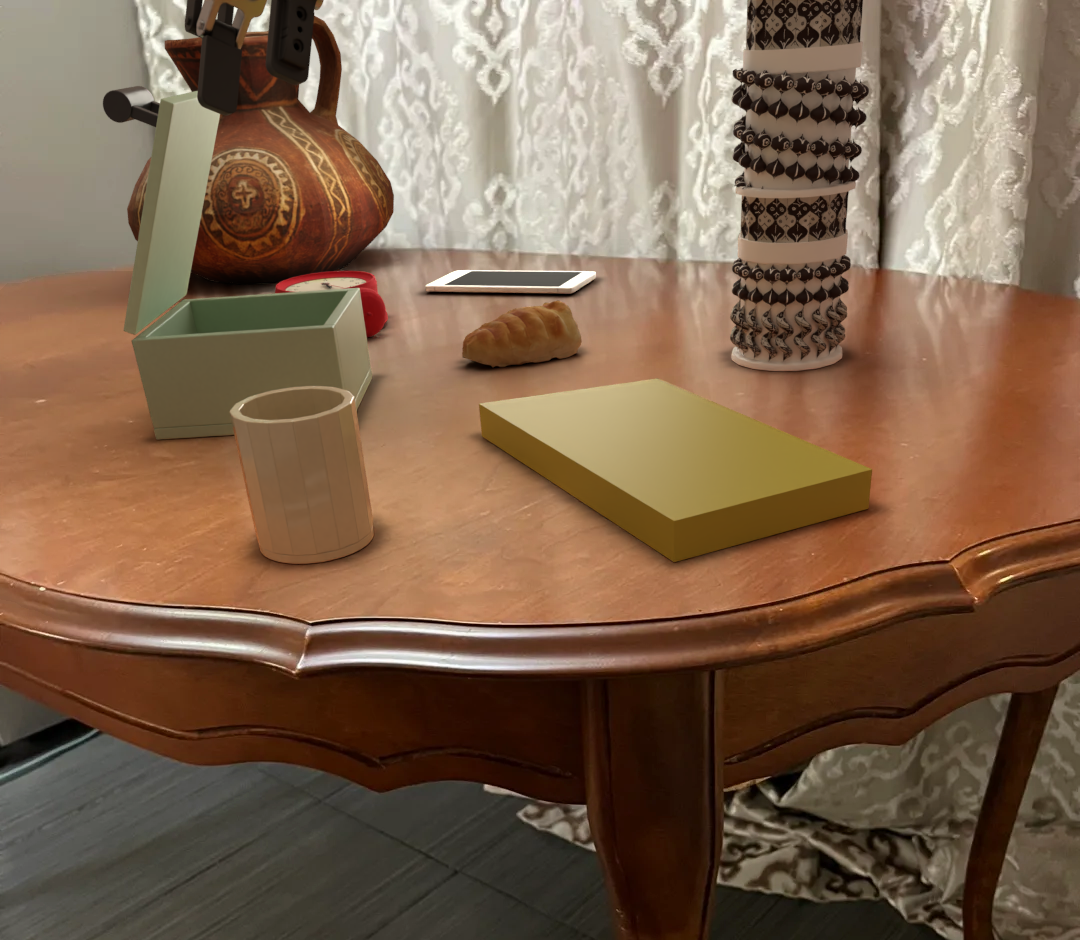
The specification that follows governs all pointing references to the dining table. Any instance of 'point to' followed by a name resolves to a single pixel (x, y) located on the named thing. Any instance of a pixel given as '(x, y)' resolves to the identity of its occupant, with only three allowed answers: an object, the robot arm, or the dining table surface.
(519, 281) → the cell phone
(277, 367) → the open hinged lid box
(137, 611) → the dining table surface
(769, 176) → the bracelet display stand
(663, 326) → the dining table surface
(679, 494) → the flat olive board
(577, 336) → the pastry
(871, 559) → the dining table surface
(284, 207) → the jug
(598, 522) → the dining table surface
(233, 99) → the robot arm
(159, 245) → the box lid
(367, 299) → the alarm clock
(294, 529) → the tan cup
